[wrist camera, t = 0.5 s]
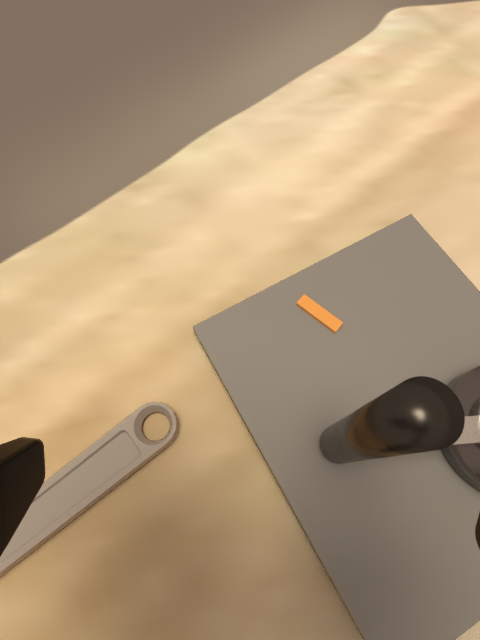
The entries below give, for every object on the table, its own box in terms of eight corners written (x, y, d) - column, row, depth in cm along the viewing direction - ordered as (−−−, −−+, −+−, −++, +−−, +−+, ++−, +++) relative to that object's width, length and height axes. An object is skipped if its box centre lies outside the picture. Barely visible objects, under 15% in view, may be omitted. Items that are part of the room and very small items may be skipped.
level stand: (635, 486, 21) (658, 487, 20) (384, 677, 18) (394, 691, 17) (405, 222, 28) (412, 211, 27) (194, 332, 25) (191, 324, 24)
